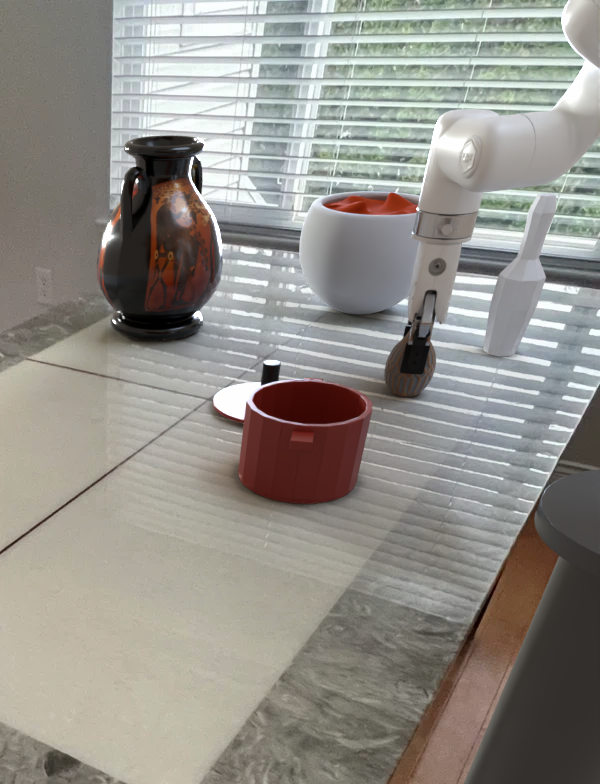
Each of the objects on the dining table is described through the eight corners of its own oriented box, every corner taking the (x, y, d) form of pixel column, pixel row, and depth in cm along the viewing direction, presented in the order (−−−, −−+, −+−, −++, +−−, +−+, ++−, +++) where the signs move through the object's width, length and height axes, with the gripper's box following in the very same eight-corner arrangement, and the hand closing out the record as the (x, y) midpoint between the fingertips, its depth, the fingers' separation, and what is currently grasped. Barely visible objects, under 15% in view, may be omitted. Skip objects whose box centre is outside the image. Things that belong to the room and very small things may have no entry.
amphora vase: (149, 303, 162) (156, 127, 143) (241, 325, 150) (262, 137, 132) (71, 331, 151) (68, 144, 132) (164, 357, 139) (175, 156, 121)
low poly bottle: (497, 360, 134) (547, 201, 119) (469, 348, 138) (513, 193, 124) (529, 354, 135) (581, 196, 121) (500, 342, 140) (547, 188, 125)
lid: (323, 393, 126) (331, 348, 121) (316, 435, 115) (325, 386, 110) (220, 386, 129) (224, 341, 125) (204, 425, 118) (208, 377, 114)
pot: (266, 312, 156) (280, 201, 144) (327, 282, 169) (345, 178, 157) (390, 336, 144) (416, 218, 132) (445, 302, 157) (474, 191, 145)
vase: (384, 381, 129) (397, 320, 123) (431, 386, 126) (447, 325, 120) (376, 396, 124) (389, 334, 118) (425, 403, 122) (441, 339, 116)
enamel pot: (358, 449, 111) (374, 376, 105) (352, 520, 97) (370, 441, 91) (248, 439, 114) (257, 368, 108) (227, 507, 100) (236, 429, 94)
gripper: (479, 241, 104) (440, 387, 115) (470, 212, 116) (435, 346, 128) (415, 239, 105) (383, 383, 117) (412, 210, 118) (384, 343, 130)
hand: (411, 363), depth 122 cm, fingers closed on vase, 6 cm apart
